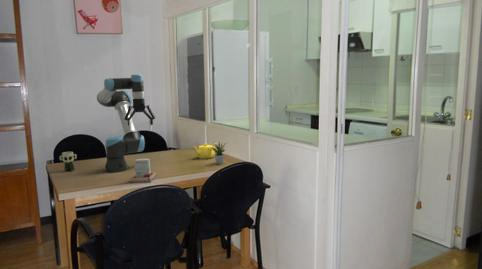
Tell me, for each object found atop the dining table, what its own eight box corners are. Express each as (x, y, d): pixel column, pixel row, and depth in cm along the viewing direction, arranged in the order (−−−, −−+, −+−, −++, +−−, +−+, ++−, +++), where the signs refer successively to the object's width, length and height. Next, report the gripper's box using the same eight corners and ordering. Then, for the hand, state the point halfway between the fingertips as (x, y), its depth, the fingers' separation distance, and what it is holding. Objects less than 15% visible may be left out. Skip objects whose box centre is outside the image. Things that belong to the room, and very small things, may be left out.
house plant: (224, 159, 290) (223, 138, 288) (234, 162, 279) (233, 140, 277) (207, 162, 283) (206, 140, 280) (217, 165, 271) (216, 143, 269)
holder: (129, 182, 234) (129, 178, 234) (137, 176, 249) (137, 172, 248) (150, 182, 233) (150, 178, 233) (157, 175, 248) (157, 172, 248)
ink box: (151, 176, 243) (150, 158, 241) (149, 178, 238) (148, 159, 237) (137, 176, 243) (136, 158, 241) (135, 178, 238) (134, 160, 237)
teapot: (199, 161, 288) (198, 147, 286) (189, 158, 300) (188, 144, 299) (223, 157, 300) (223, 143, 299) (213, 154, 313) (213, 141, 311)
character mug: (60, 172, 266) (58, 154, 264) (61, 170, 272) (59, 152, 270) (77, 170, 270) (76, 152, 268) (77, 168, 276) (76, 150, 274)
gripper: (117, 99, 250) (120, 131, 253) (155, 97, 248) (157, 130, 251) (122, 98, 257) (124, 129, 260) (158, 97, 256) (160, 128, 259)
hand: (140, 130), depth 256 cm, fingers open, 13 cm apart
